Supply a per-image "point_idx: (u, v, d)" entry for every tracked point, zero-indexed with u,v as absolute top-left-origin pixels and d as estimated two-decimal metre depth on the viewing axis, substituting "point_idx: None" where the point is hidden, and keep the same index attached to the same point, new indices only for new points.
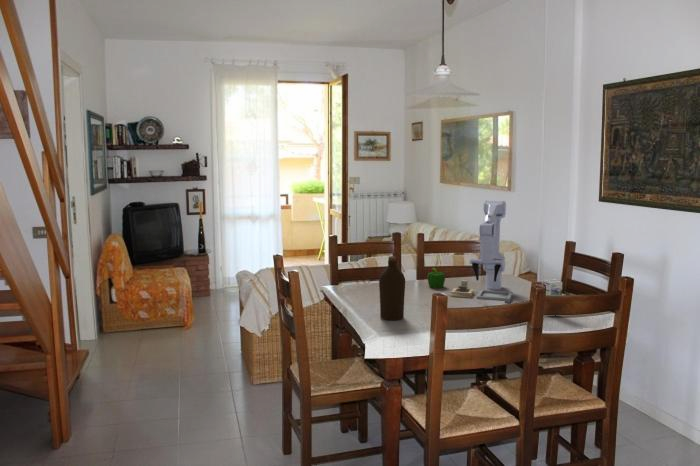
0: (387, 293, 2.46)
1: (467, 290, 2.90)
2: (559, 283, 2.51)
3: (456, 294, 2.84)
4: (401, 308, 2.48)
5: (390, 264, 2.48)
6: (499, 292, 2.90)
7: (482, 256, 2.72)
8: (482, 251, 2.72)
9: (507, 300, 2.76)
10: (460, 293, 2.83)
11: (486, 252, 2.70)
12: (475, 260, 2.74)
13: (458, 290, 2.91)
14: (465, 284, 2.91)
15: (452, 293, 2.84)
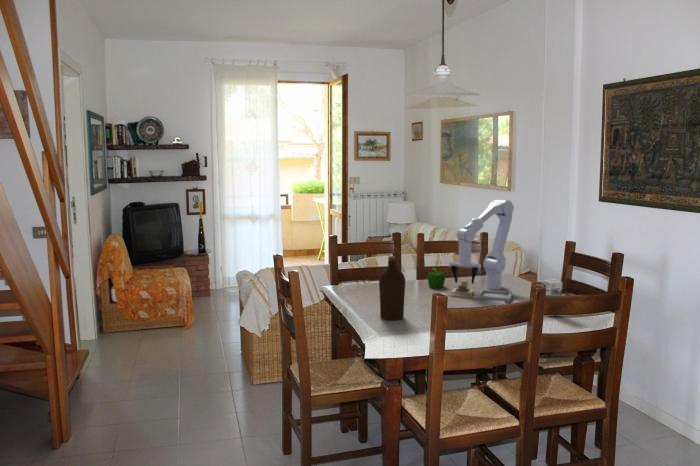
0: (387, 293, 2.46)
1: (467, 290, 2.90)
2: (559, 283, 2.51)
3: (456, 294, 2.84)
4: (401, 308, 2.48)
5: (390, 264, 2.48)
6: (499, 292, 2.90)
7: (460, 259, 2.89)
8: (460, 255, 2.89)
9: (507, 300, 2.76)
10: (460, 293, 2.83)
11: (464, 256, 2.88)
12: (454, 263, 2.91)
13: (458, 290, 2.91)
14: (465, 284, 2.91)
15: (452, 293, 2.84)
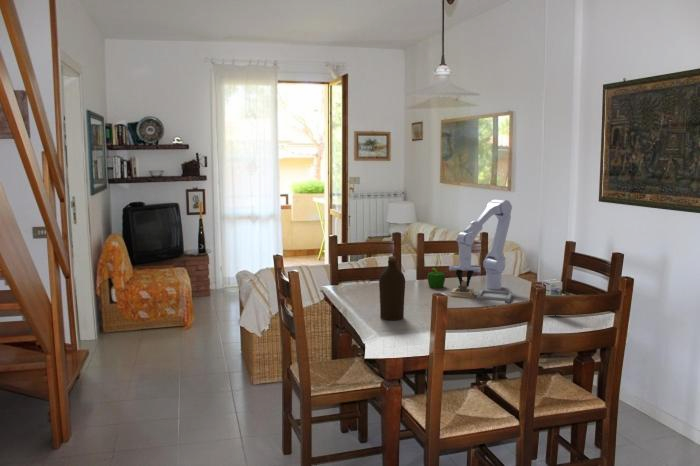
0: (387, 293, 2.46)
1: (467, 290, 2.90)
2: (559, 283, 2.51)
3: (456, 294, 2.84)
4: (401, 308, 2.48)
5: (390, 264, 2.48)
6: (499, 292, 2.90)
7: (460, 263, 2.89)
8: (460, 258, 2.89)
9: (507, 300, 2.76)
10: (460, 293, 2.83)
11: (464, 259, 2.88)
12: (454, 267, 2.91)
13: (458, 290, 2.91)
14: (465, 284, 2.91)
15: (452, 293, 2.84)
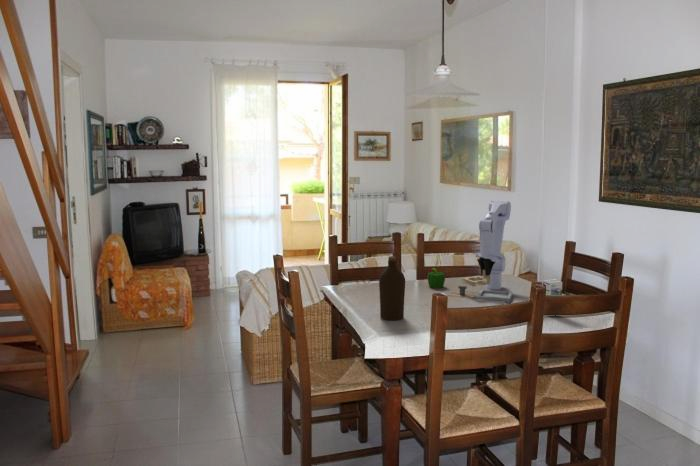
0: (387, 293, 2.46)
1: (483, 279, 2.84)
2: (559, 283, 2.51)
3: (465, 281, 2.85)
4: (401, 308, 2.48)
5: (390, 264, 2.48)
6: (499, 292, 2.90)
7: (480, 250, 2.86)
8: (480, 245, 2.86)
9: (507, 300, 2.76)
10: (467, 281, 2.83)
11: (481, 247, 2.84)
12: (477, 253, 2.89)
13: (478, 278, 2.88)
14: (484, 273, 2.85)
15: (463, 280, 2.87)
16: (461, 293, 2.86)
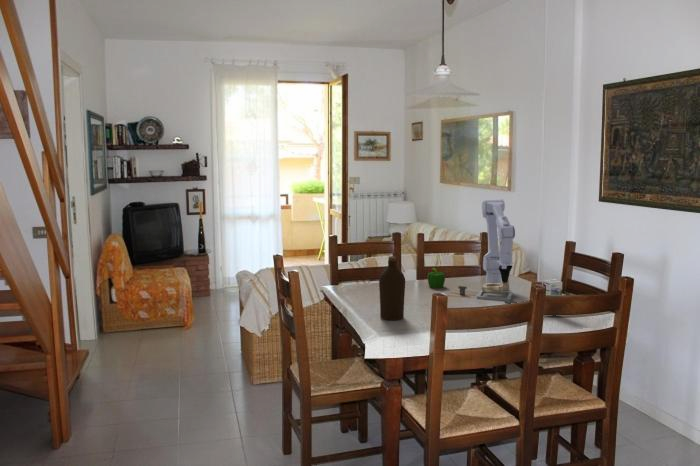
0: (387, 293, 2.46)
1: None
2: (559, 283, 2.51)
3: None
4: (401, 308, 2.48)
5: (390, 264, 2.48)
6: (499, 292, 2.90)
7: None
8: None
9: (507, 300, 2.76)
10: (483, 286, 2.86)
11: (499, 253, 2.81)
12: None
13: (500, 285, 2.85)
14: None
15: None
16: (461, 293, 2.86)
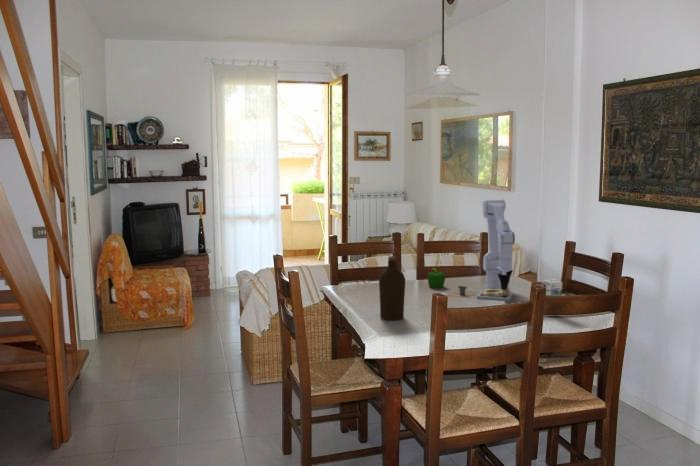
0: (387, 293, 2.46)
1: None
2: (559, 283, 2.51)
3: None
4: (401, 308, 2.48)
5: (390, 264, 2.48)
6: None
7: None
8: None
9: (507, 300, 2.76)
10: (483, 292, 2.86)
11: (499, 259, 2.82)
12: None
13: None
14: None
15: None
16: (461, 293, 2.86)
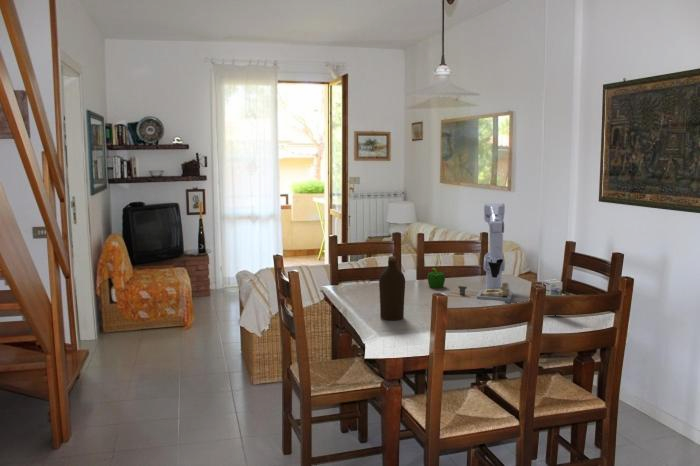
0: (387, 293, 2.46)
1: None
2: (559, 283, 2.51)
3: None
4: (401, 308, 2.48)
5: (390, 264, 2.48)
6: None
7: None
8: None
9: (507, 300, 2.76)
10: (483, 292, 2.86)
11: None
12: None
13: None
14: (502, 286, 2.82)
15: None
16: (461, 293, 2.86)
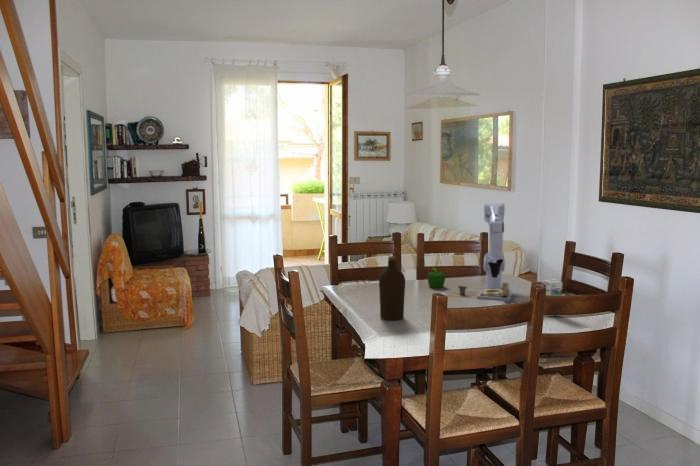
0: (387, 293, 2.46)
1: None
2: (559, 283, 2.51)
3: None
4: (401, 308, 2.48)
5: (390, 264, 2.48)
6: None
7: None
8: None
9: (507, 300, 2.76)
10: (483, 292, 2.86)
11: None
12: None
13: None
14: (502, 286, 2.82)
15: None
16: (461, 293, 2.86)
